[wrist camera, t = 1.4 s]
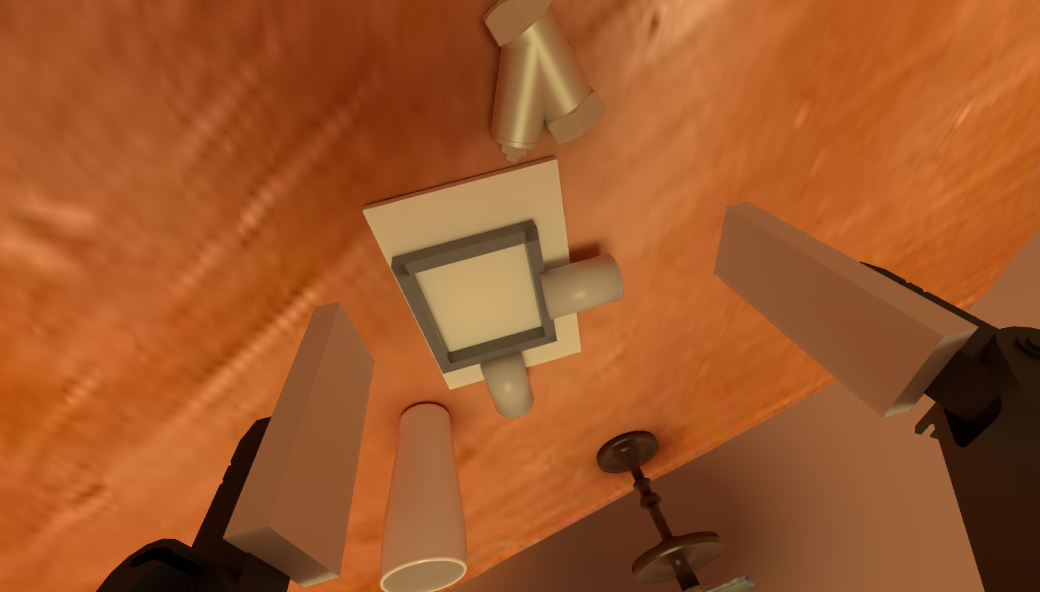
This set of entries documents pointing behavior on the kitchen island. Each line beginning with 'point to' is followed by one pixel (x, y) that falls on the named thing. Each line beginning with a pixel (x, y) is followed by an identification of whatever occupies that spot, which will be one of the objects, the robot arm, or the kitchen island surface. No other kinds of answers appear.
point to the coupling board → (492, 276)
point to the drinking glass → (423, 507)
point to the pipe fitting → (536, 79)
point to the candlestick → (659, 519)
